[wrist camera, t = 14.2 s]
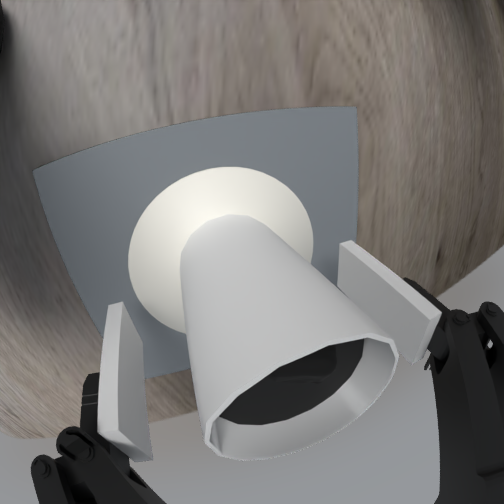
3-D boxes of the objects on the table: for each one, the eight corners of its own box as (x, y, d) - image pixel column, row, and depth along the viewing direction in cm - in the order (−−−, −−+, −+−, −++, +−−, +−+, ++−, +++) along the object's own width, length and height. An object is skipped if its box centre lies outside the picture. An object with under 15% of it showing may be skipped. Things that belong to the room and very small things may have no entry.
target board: (37, 167, 11) (30, 171, 10) (348, 106, 15) (358, 107, 14) (130, 373, 19) (130, 383, 18) (343, 310, 23) (349, 318, 22)
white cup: (162, 214, 14) (180, 376, 5) (287, 199, 15) (425, 303, 7) (181, 318, 17) (217, 473, 8) (283, 299, 18) (367, 421, 10)
